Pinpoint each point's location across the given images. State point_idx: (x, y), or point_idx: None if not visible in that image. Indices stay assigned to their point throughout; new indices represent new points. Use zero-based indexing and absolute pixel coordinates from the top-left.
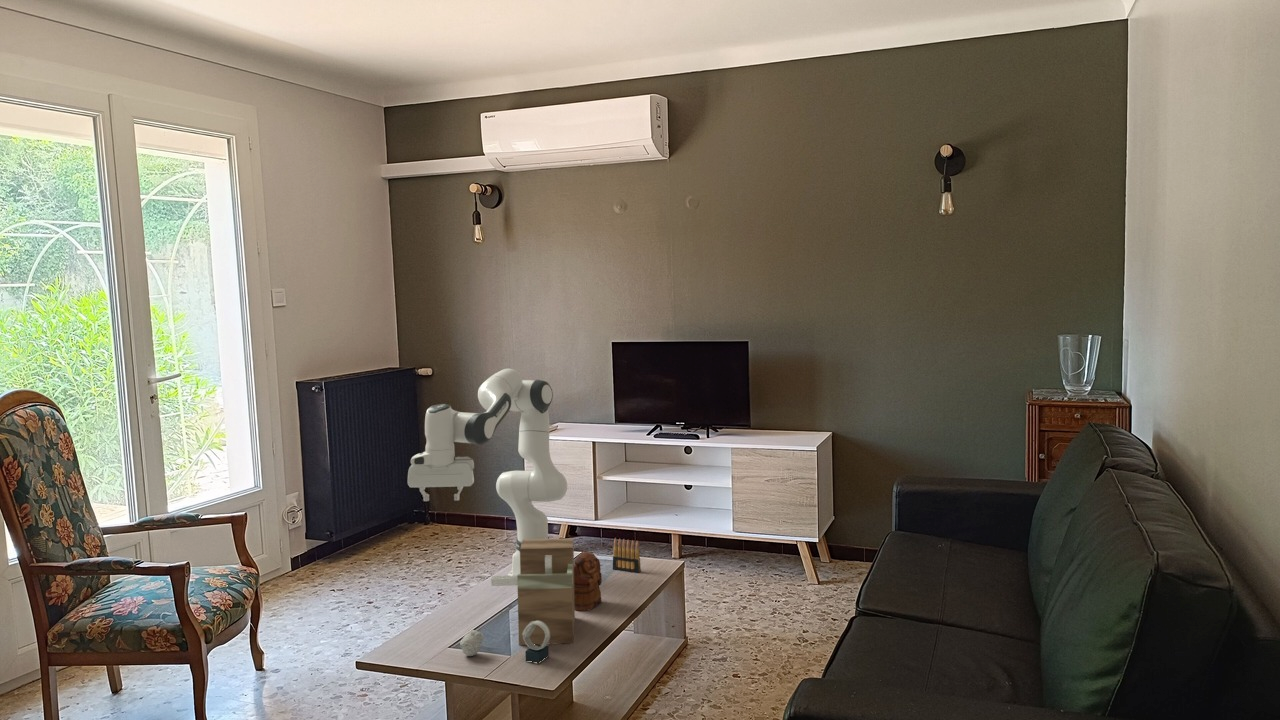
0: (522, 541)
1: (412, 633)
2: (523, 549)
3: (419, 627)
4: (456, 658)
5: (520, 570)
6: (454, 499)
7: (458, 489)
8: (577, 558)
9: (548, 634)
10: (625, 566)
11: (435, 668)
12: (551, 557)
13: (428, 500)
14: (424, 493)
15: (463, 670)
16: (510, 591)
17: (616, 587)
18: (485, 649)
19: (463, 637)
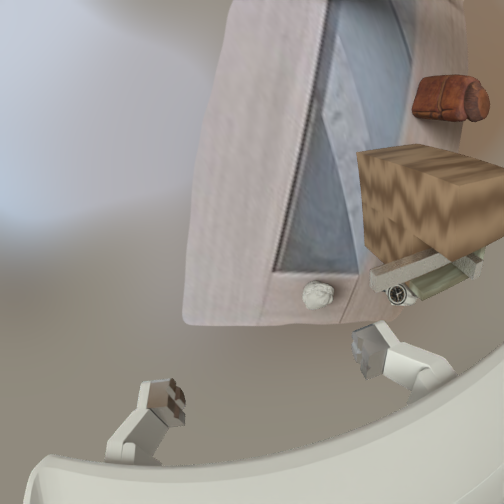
0: (458, 204)
1: (193, 240)
2: (456, 259)
3: (192, 216)
4: (295, 297)
5: (422, 240)
6: (357, 357)
7: (413, 399)
8: (475, 113)
9: (414, 293)
10: None
11: (278, 323)
12: (480, 272)
13: (182, 394)
14: (157, 437)
15: (312, 319)
16: (292, 28)
17: (436, 35)
18: (325, 266)
19: (309, 302)
